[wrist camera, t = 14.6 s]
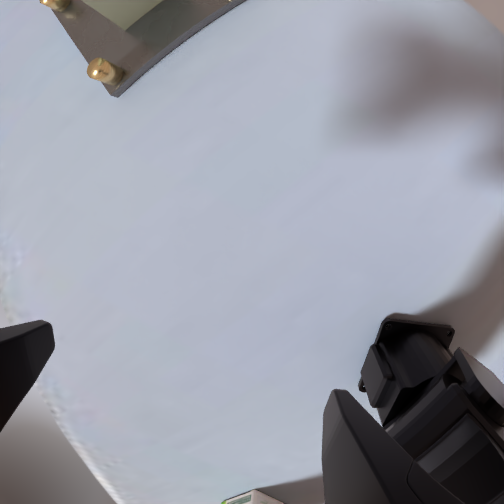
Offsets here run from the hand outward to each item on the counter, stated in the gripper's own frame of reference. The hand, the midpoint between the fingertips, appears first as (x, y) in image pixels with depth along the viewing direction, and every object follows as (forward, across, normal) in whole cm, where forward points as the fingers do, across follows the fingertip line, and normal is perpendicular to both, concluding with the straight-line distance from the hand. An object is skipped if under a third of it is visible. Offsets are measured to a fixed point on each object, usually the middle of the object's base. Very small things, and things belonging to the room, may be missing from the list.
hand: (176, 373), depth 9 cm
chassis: (+13, +10, -18) cm, 24 cm away
